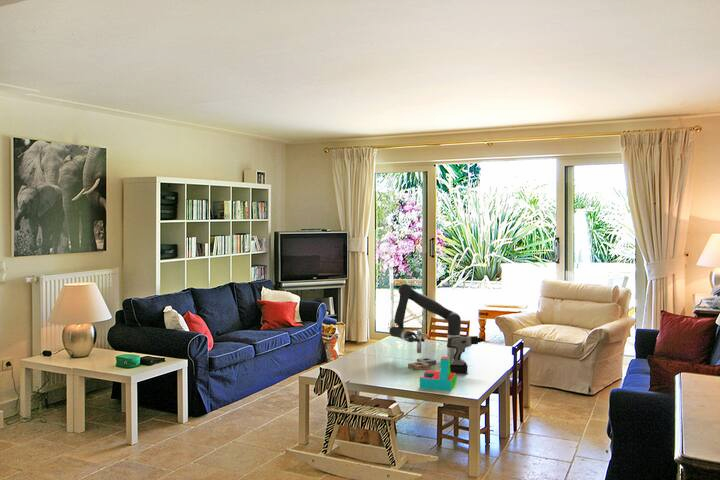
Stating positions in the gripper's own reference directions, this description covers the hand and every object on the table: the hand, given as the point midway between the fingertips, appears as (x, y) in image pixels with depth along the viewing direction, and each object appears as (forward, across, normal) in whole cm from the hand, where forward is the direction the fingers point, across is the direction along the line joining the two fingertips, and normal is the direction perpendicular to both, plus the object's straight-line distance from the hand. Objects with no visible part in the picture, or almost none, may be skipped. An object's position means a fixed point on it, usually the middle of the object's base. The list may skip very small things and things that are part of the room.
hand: (421, 340), depth 419 cm
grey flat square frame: (-12, +12, +19) cm, 26 cm away
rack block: (-3, 0, +19) cm, 19 cm away
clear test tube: (-3, 0, +9) cm, 9 cm away
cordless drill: (+22, +20, +19) cm, 36 cm away
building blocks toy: (+38, -12, +20) cm, 45 cm away
